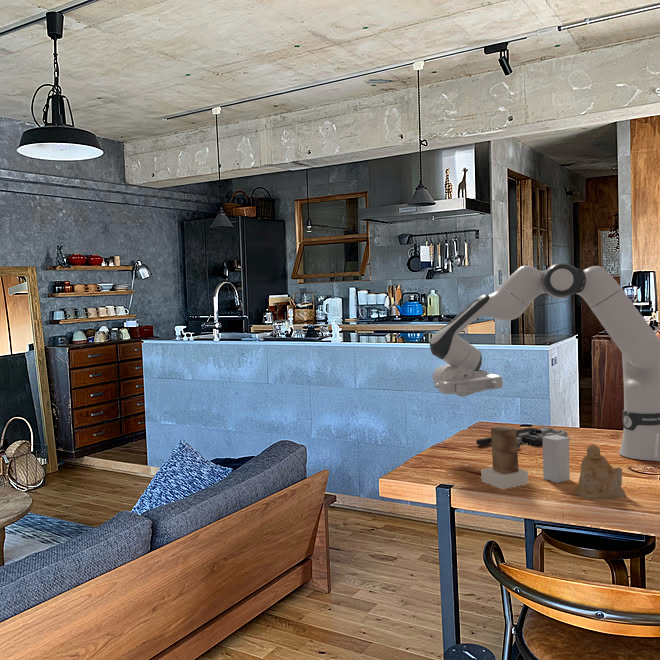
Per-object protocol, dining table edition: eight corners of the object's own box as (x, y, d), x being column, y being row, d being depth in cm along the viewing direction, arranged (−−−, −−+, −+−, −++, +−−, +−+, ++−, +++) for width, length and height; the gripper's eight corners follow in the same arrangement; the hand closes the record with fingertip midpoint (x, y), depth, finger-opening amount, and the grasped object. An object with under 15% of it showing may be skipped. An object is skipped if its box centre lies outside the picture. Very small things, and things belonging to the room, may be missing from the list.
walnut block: (508, 467, 190) (506, 425, 189) (518, 471, 185) (516, 428, 184) (493, 469, 188) (490, 427, 188) (502, 474, 183) (500, 430, 183)
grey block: (555, 475, 192) (554, 434, 192) (569, 479, 188) (568, 437, 187) (543, 478, 190) (542, 437, 189) (557, 482, 186) (556, 440, 185)
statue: (603, 444, 184) (622, 442, 174) (612, 497, 180) (632, 497, 171) (561, 448, 182) (578, 445, 173) (569, 501, 179) (587, 501, 169)
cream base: (506, 478, 193) (505, 464, 193) (528, 485, 185) (527, 471, 185) (481, 483, 189) (481, 469, 189) (502, 491, 181) (502, 476, 181)
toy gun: (503, 455, 219) (472, 446, 232) (573, 440, 235) (540, 432, 248) (503, 445, 218) (472, 436, 232) (573, 431, 234) (540, 423, 247)
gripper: (431, 375, 212) (449, 380, 198) (489, 369, 217) (511, 374, 203) (432, 395, 212) (450, 401, 199) (490, 388, 217) (512, 394, 204)
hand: (481, 387), depth 201 cm, fingers open, 8 cm apart
